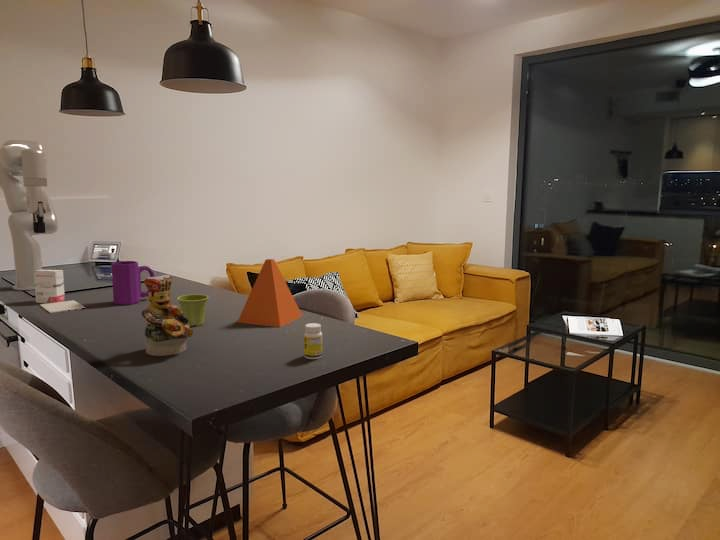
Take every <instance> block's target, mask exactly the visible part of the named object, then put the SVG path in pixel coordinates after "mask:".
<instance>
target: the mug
mask: <svg viewBox="0 0 720 540" xmlns="http://www.w3.org/2000/svg"><path fill="white" fill-rule="evenodd" d="M110 265H111V279H112V280H111V281H112V294H113V296H112V297H113V299H112V300H113V304H115V305H118V306H126V305H127V306H128V305H129V306H130V305H134V304H138V303H140V302H141V298H148V296H149V293H148V290H147V291H142V283H141V279H142V277H141V273H142V272H144V271H147V272H148V274H149V277H156V276H155V273H154V271H153V270H152V268H151V267H150V266H148V265H141V266H139V262H138V261H134V260H122V261H113V262H111V263H110Z"/></svg>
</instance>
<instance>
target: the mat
mask: <svg viewBox="0 0 720 540" xmlns="http://www.w3.org/2000/svg"><path fill="white" fill-rule="evenodd" d="M39 306H40V307H41V308H43V310H46V311H47V312H48V313H49V314H53V313H61V312H62V311H63V312H69V311H68V310H70V311H76V310H75V309H77V310H82V308H85V309H86V307H85V306H84V305H82V304H81V303H79V302H78V301H76V300H73V299H72V300H65V301H62V302H56V303H39Z"/></svg>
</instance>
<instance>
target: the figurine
mask: <svg viewBox="0 0 720 540" xmlns="http://www.w3.org/2000/svg"><path fill="white" fill-rule="evenodd" d="M172 281H173V277H172V276H171V275H170V274H163V275H158V276H155V277H150V276H148V277H145V279H144V280H143V283H144V285H145V287H146V288H147V291H148V293H149V296H147V301H148V302H150V303H149V305H148V306H147V307H146V308H145V309H144V310H142V311H141V313H140V314H141V316H142V318H144V319H145V320H146V322H147V323H146V325H145V328H144V336H145V338H146V346H145V353H146V354H147V355H149V356H150V355H151V356H157V357H158V356H159V357H160V356H172V355H177V354H180V353H183V352H184V351H186V349H187V345H186V344H187V343H186V341H187V339H189V338H190V337H192V336H193V334H194V331H193V329H192V328H191V326H190V324H189V323H188V321H189V319H188V318H187V317H186V316H185V315H184V314H183V313H182V311H181V307H178V305H172V301H171V297H170V296H171V292H170V291H171V287H172Z"/></svg>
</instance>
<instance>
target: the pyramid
mask: <svg viewBox="0 0 720 540" xmlns="http://www.w3.org/2000/svg"><path fill="white" fill-rule="evenodd" d="M301 317H303V313H302V312H301V310H300V308H299V306H298V303H297V302H296V300H295V297H294V296H293V293H292V292H291V291H290V287H289V286H288V284H287V282H286V280H285V278H284V276H283V274H282V272H281V270H280V268H279V266H278V265H277V262H276V261H275V259H274V258H268V259H267V258H266V259H265V260H264V262H263V264H262V266H261V269H260V271H259V273H258V276H257V278H256V280H255V282H254V284H253V287H252V288H251V291H250V293H249V295H248V298H247V299H246V302H245V304H244V307H243V308H242V310H241V312H240V315H239V317H238V320H237V321H236V323H239V324H246V325H247V324H250V325H258V326H266V327H267V326H268V327H272V328H273V327H275V328H282V327H284V326H286V325H288V324H290V323H292V322H293V321H296V320H298V319H300V318H301Z"/></svg>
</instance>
